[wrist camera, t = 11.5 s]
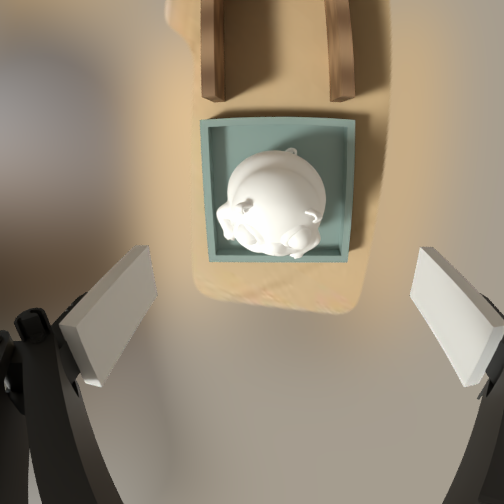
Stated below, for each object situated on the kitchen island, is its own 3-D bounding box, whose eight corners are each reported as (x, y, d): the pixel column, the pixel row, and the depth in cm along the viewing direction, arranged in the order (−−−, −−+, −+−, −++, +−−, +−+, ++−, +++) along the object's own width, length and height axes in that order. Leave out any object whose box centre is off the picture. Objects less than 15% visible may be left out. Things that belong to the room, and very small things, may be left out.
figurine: (243, 133, 30) (226, 135, 19) (332, 159, 31) (364, 177, 20) (221, 219, 34) (195, 265, 23) (304, 242, 35) (317, 298, 24)
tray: (205, 120, 31) (199, 120, 28) (349, 120, 29) (355, 119, 27) (213, 253, 37) (209, 261, 34) (343, 253, 36) (347, 262, 33)
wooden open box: (212, -25, 23) (202, -48, 18) (331, -26, 22) (340, -49, 17) (214, 102, 30) (201, 96, 24) (341, 102, 29) (355, 97, 23)
